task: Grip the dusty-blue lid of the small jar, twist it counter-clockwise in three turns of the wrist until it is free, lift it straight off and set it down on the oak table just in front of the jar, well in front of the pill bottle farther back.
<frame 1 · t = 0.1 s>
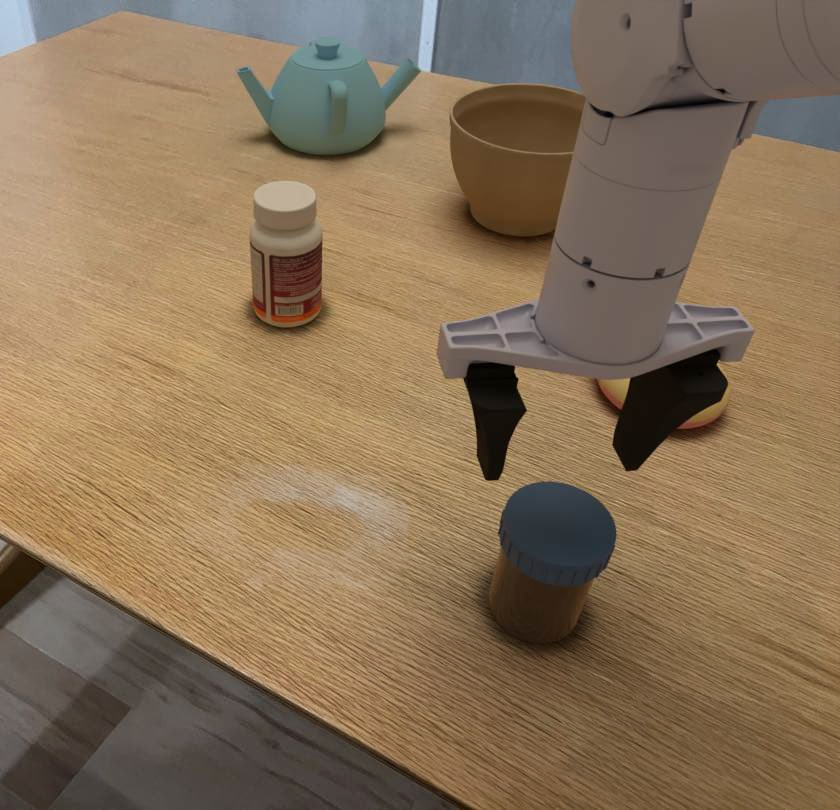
hand: (556, 462, 45), 11 cm above the table, tool pointing down, fingers open, 7 cm apart
jar: (532, 605, 51), on the table
donut: (654, 396, 65), on the table
teapot: (328, 136, 101), on the table
pill bottle: (287, 311, 74), on the table
planter bowl: (514, 217, 86), on the table
lid: (558, 526, 46), point 8 cm above the table, screwed on, not yet turned
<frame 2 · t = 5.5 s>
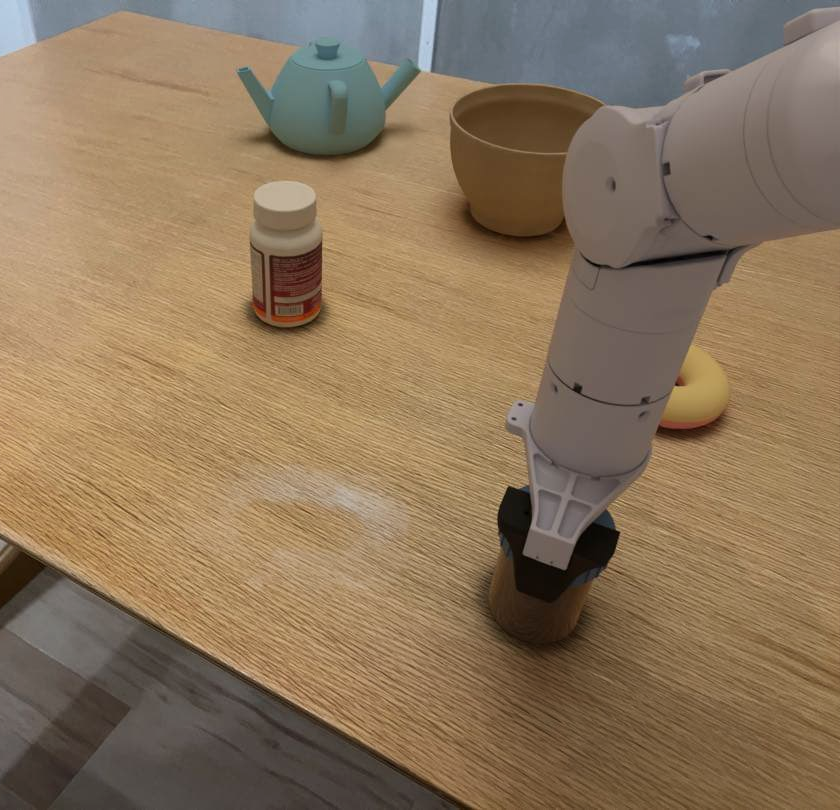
hand: (550, 549, 47), 6 cm above the table, tool pointing down, fingers closed on lid, 6 cm apart
lid: (558, 526, 46), point 8 cm above the table, screwed on, not yet turned, touching gripper
everything else where it was.
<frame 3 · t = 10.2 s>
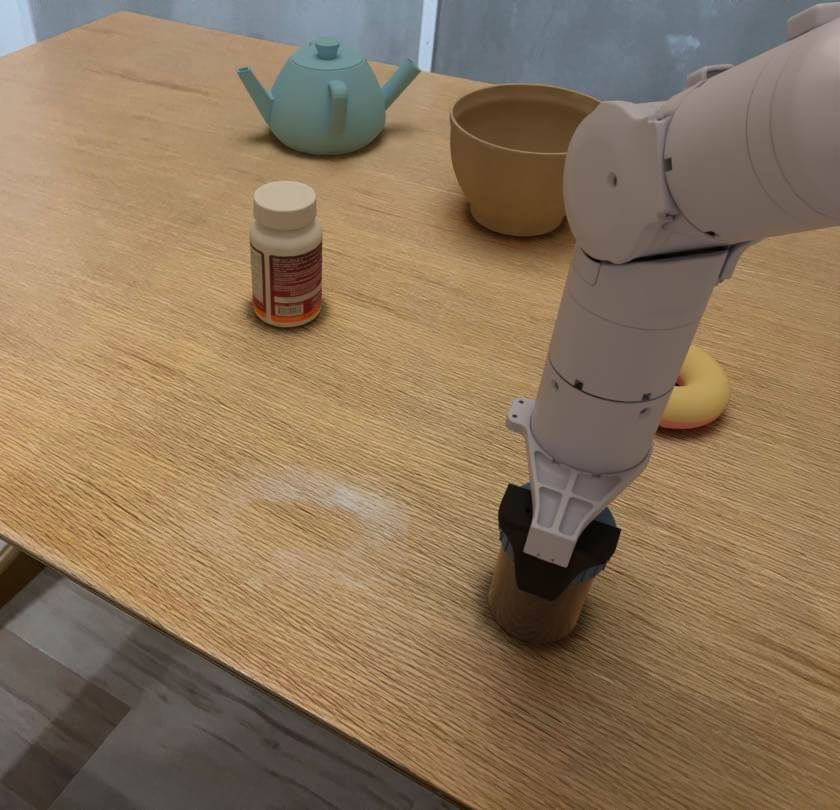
hand: (551, 547, 47), 6 cm above the table, tool pointing down, fingers closed on lid, 6 cm apart
lid: (558, 524, 45), point 8 cm above the table, turned 67° so far, risen 0.2 cm, still on its thread, touching gripper
everything else where it was.
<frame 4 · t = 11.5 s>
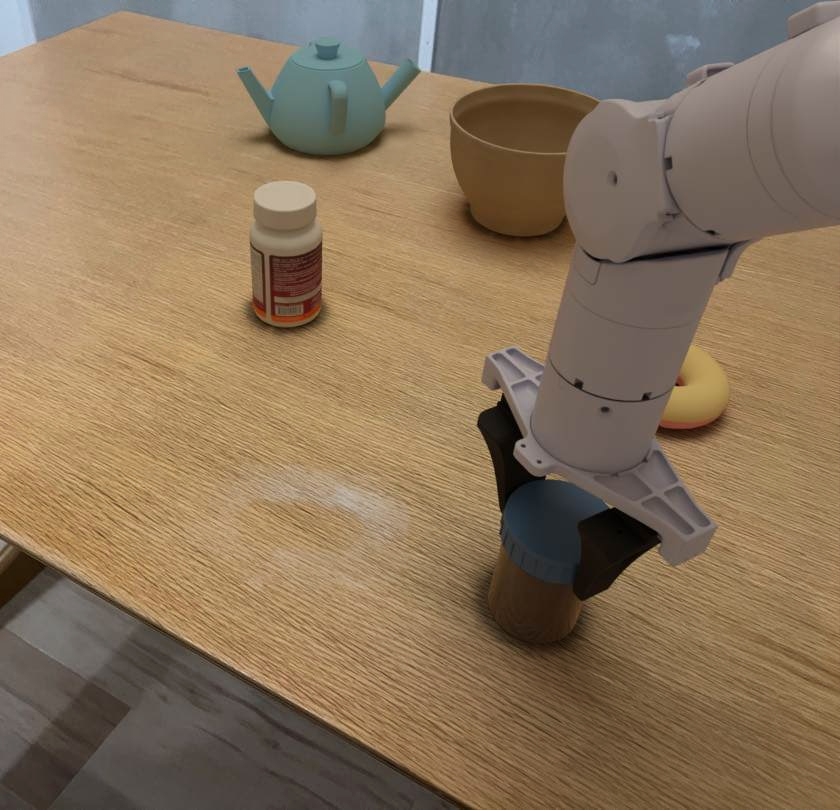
hand: (551, 546, 47), 6 cm above the table, tool pointing down, fingers closed on lid, 6 cm apart
lid: (559, 524, 45), point 8 cm above the table, off its thread, touching gripper
everything else where it was.
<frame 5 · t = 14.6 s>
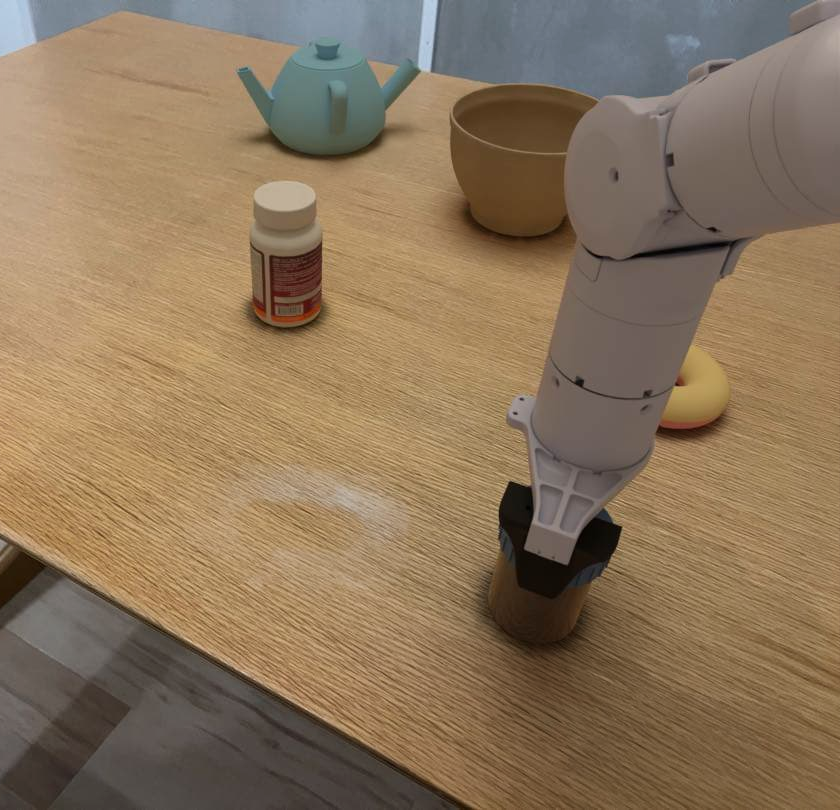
hand: (552, 545, 47), 6 cm above the table, tool pointing down, fingers closed on lid, 6 cm apart
jar: (532, 605, 51), on the table, touching lid
lid: (557, 527, 46), point 7 cm above the table, off its thread, touching gripper, jar
everything else where it was.
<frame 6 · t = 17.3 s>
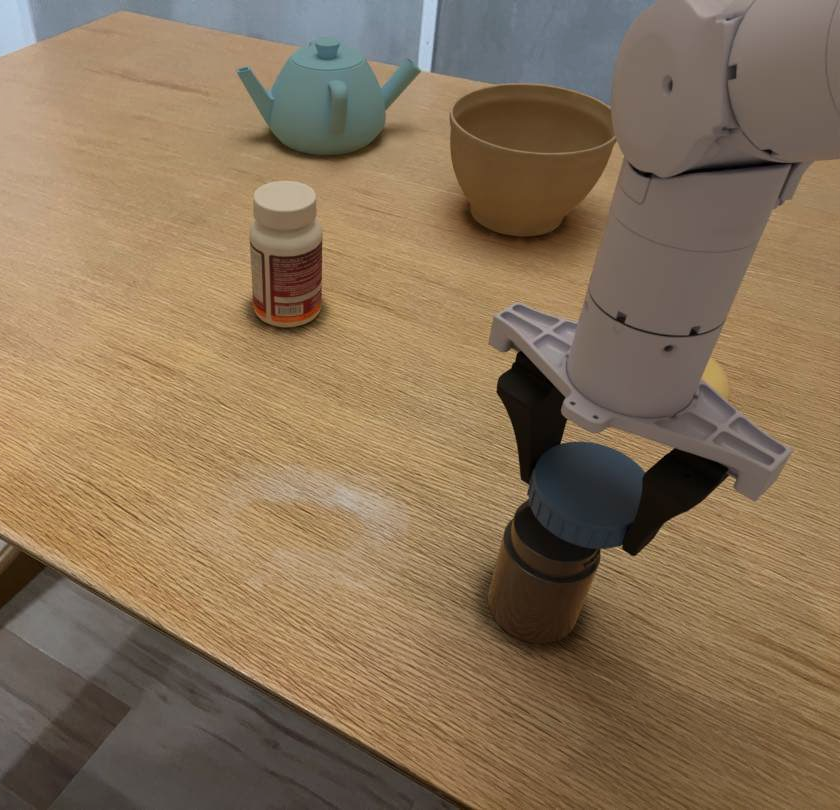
hand: (584, 506, 44), 9 cm above the table, tool pointing down, fingers closed on lid, 6 cm apart
jar: (532, 605, 51), on the table
lid: (591, 486, 43), point 11 cm above the table, off its thread, touching gripper
everything else where it was.
when the fingers open (0 cm above the table, at t = 21.0 s): lid stays where it is, point 1 cm above the table.
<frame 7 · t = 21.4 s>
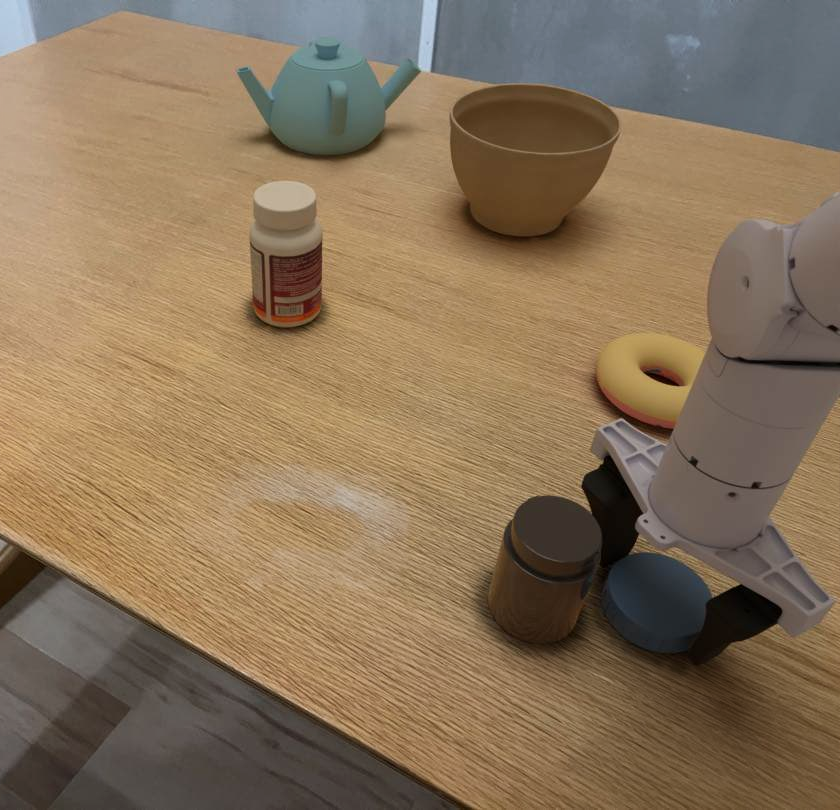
hand: (655, 605, 50), 1 cm above the table, tool pointing down, fingers open, 7 cm apart
lid: (658, 596, 49), point 1 cm above the table, off its thread
everything else where it was.
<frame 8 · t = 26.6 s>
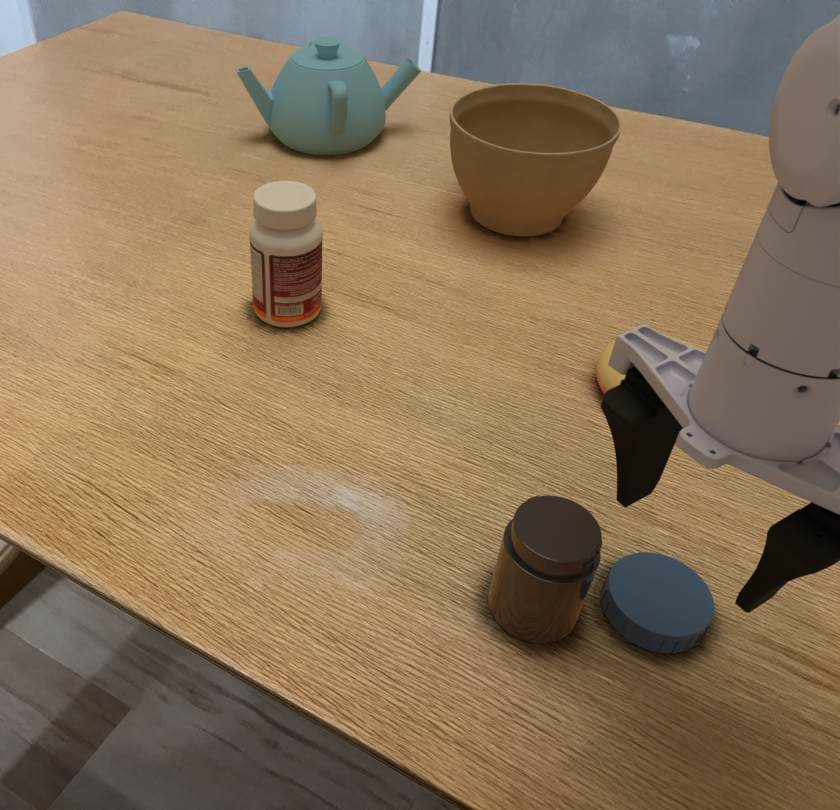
hand: (690, 545, 42), 9 cm above the table, tool pointing down, fingers open, 7 cm apart
nothing on the table moved.
at the end: lid point 1.4 cm above the table; the gripper is holding nothing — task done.
